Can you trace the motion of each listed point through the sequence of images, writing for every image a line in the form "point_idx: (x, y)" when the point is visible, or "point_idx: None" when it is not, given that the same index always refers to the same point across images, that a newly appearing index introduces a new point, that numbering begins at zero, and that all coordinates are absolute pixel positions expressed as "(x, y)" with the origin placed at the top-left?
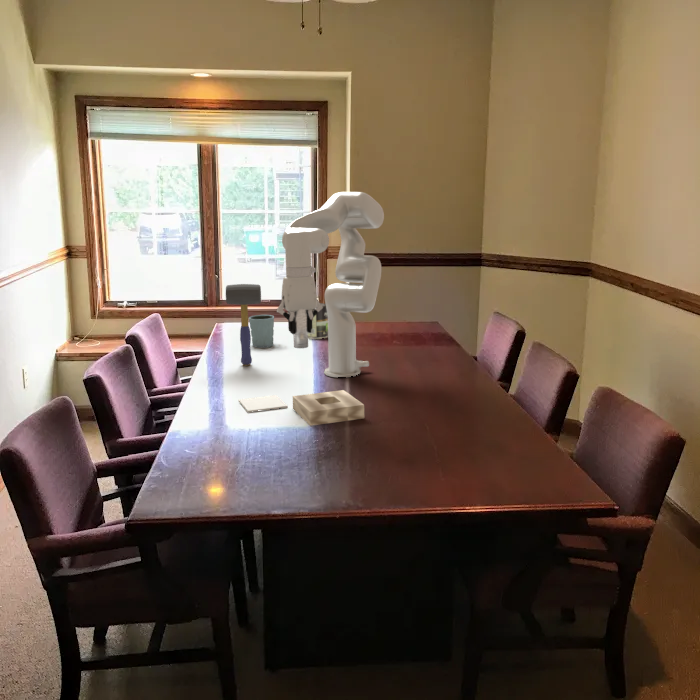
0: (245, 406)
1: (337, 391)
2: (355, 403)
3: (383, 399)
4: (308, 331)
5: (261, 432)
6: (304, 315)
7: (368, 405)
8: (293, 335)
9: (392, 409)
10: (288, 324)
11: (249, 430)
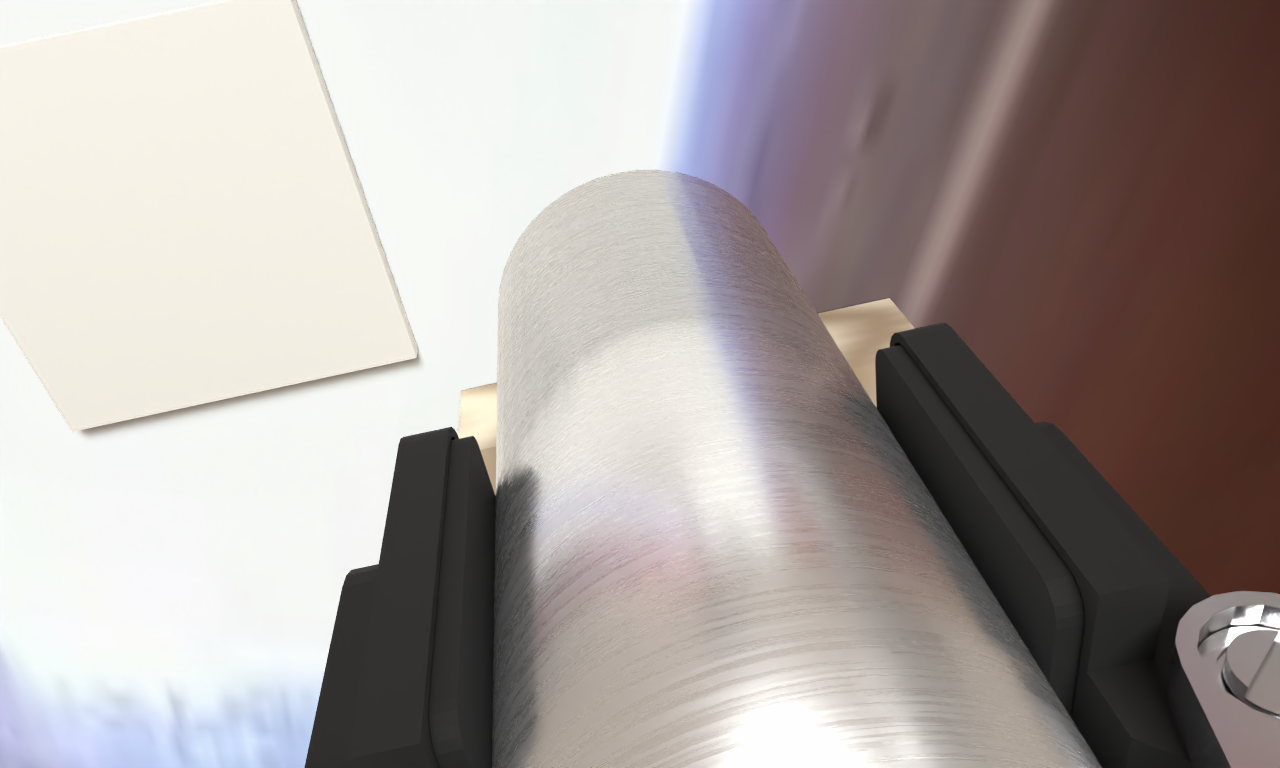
0: (14, 322)
1: (868, 385)
2: None
3: (1208, 266)
4: None
5: (259, 742)
6: None
7: (1033, 384)
8: (496, 448)
9: (1133, 480)
10: (324, 714)
11: (176, 715)
